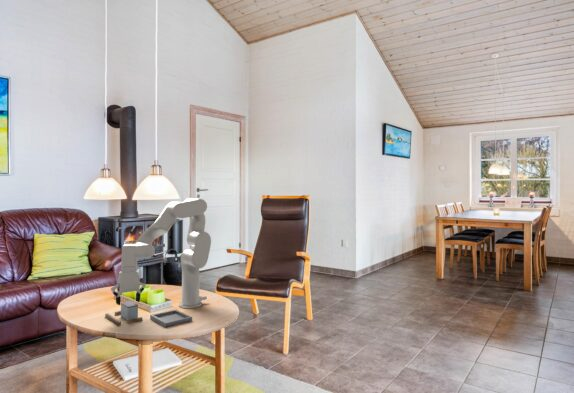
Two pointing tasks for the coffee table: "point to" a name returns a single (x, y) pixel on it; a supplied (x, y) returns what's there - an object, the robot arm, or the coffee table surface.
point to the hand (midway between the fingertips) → (128, 302)
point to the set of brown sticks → (119, 321)
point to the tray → (170, 318)
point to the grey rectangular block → (129, 310)
